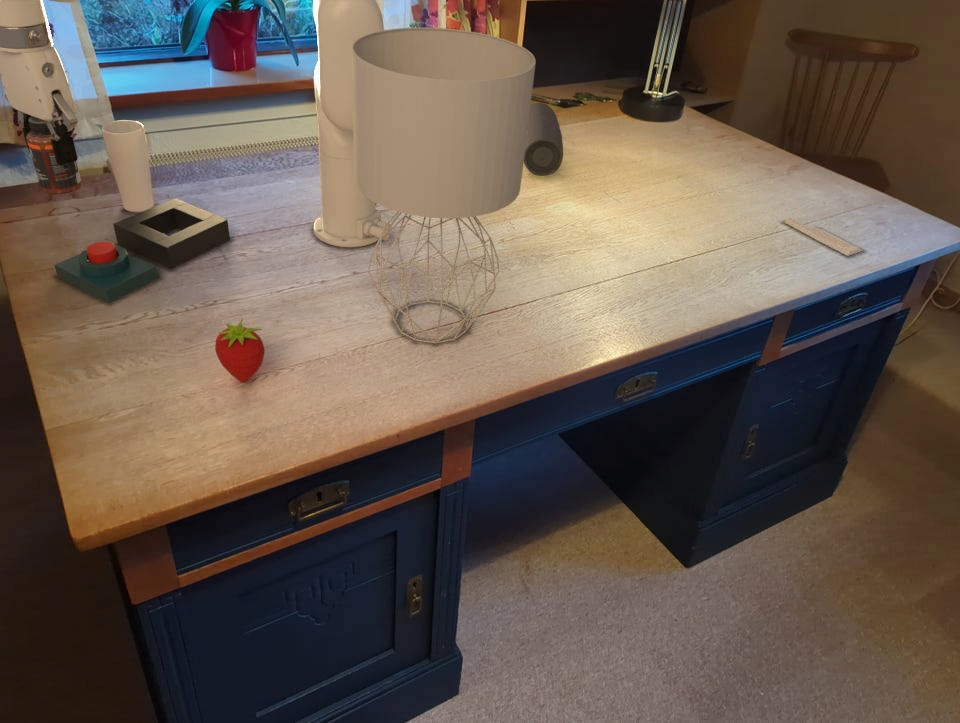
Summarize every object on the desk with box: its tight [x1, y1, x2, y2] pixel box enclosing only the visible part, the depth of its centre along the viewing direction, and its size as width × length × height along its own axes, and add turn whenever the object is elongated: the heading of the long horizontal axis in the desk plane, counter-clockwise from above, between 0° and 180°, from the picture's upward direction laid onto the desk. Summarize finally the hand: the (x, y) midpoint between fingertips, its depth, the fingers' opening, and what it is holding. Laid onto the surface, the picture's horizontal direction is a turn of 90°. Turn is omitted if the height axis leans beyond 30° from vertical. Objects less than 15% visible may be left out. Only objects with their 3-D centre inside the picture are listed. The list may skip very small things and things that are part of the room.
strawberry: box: [214, 317, 265, 384], centre depth 99 cm, size 6×8×10 cm
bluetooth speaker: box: [523, 102, 564, 177], centre depth 168 cm, size 23×9×10 cm, turn 179°
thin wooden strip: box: [784, 217, 864, 257], centre depth 151 cm, size 5×15×1 cm, turn 33°
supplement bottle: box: [26, 113, 82, 195], centre depth 118 cm, size 6×6×11 cm
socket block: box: [112, 197, 231, 270], centre depth 129 cm, size 13×13×4 cm
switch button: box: [86, 241, 117, 263], centre depth 117 cm, size 4×4×2 cm
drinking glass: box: [101, 119, 155, 213], centre depth 134 cm, size 7×7×15 cm
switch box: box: [53, 244, 159, 304], centre depth 118 cm, size 12×9×4 cm
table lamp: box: [352, 27, 536, 344], centre depth 105 cm, size 22×22×40 cm
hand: (53, 155), depth 118 cm, fingers closed on supplement bottle, 6 cm apart
